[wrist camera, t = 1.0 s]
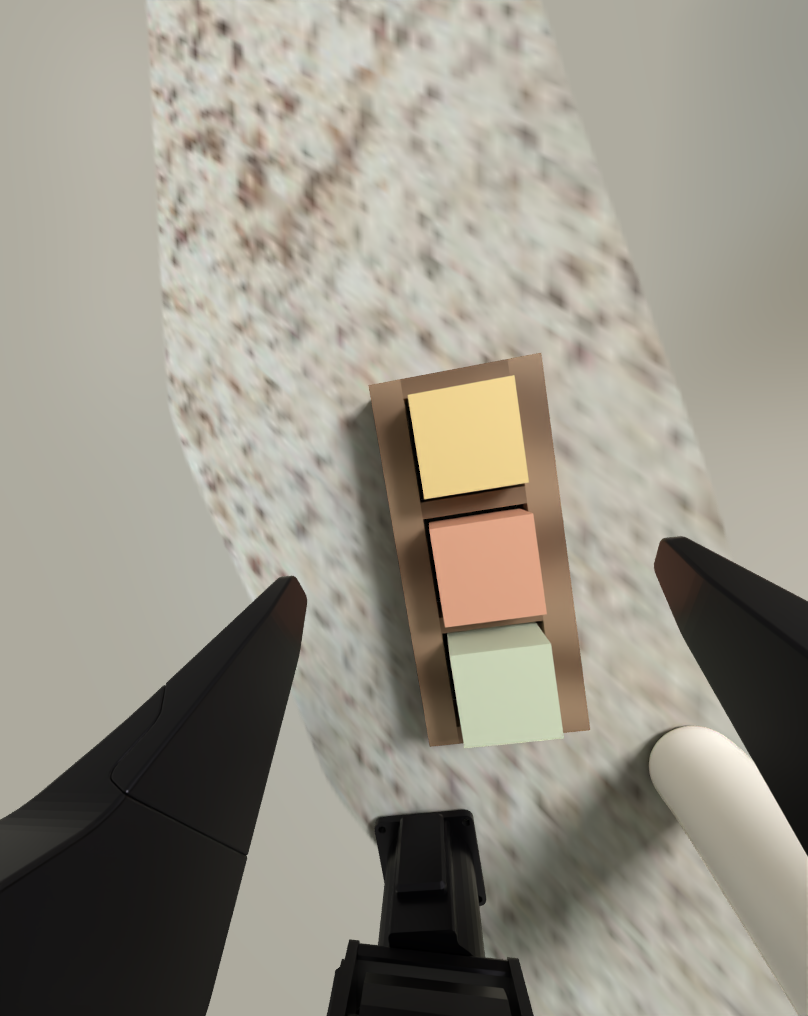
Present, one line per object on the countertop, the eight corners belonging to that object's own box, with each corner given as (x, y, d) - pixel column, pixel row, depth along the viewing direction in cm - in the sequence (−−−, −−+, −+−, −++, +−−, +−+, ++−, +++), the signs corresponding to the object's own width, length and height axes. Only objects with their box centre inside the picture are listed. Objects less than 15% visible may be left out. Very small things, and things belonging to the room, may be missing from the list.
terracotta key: (531, 595, 20) (547, 614, 17) (443, 607, 21) (445, 627, 18) (519, 508, 20) (533, 513, 17) (429, 522, 20) (429, 529, 17)
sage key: (546, 704, 21) (563, 738, 18) (459, 713, 21) (464, 748, 18) (534, 621, 20) (550, 643, 18) (446, 632, 21) (449, 656, 18)
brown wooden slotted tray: (572, 701, 22) (589, 730, 20) (429, 717, 23) (429, 746, 21) (527, 367, 21) (541, 352, 18) (375, 395, 21) (368, 385, 19)
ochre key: (515, 481, 20) (529, 482, 17) (424, 495, 20) (424, 499, 17) (502, 388, 19) (514, 375, 17) (410, 405, 20) (407, 395, 17)
